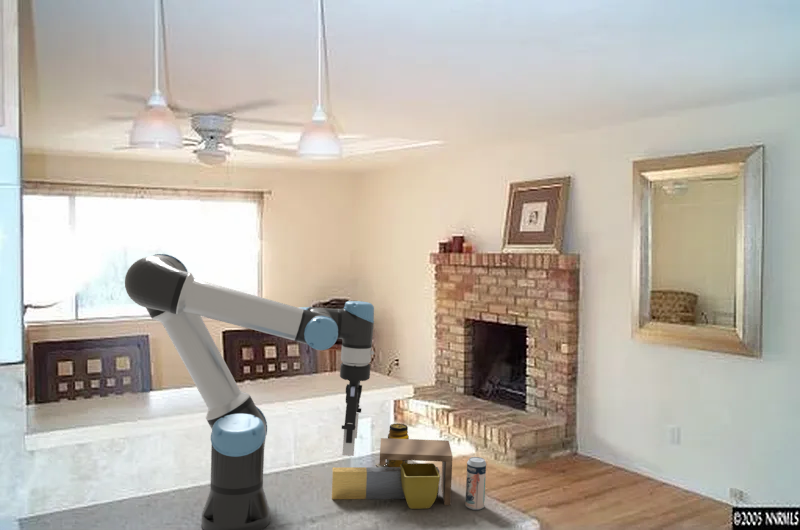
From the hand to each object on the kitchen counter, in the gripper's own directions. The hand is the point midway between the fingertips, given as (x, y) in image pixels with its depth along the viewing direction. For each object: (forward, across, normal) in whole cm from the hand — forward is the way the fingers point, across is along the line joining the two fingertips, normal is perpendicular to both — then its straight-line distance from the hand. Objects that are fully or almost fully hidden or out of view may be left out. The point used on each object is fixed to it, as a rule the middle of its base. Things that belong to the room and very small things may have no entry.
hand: (349, 446), depth 169 cm
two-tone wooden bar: (+12, 0, -10) cm, 16 cm away
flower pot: (+12, -4, -18) cm, 22 cm away
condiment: (+12, +22, -12) cm, 28 cm away
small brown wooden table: (+12, +2, -17) cm, 21 cm away
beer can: (+12, -4, -32) cm, 35 cm away
